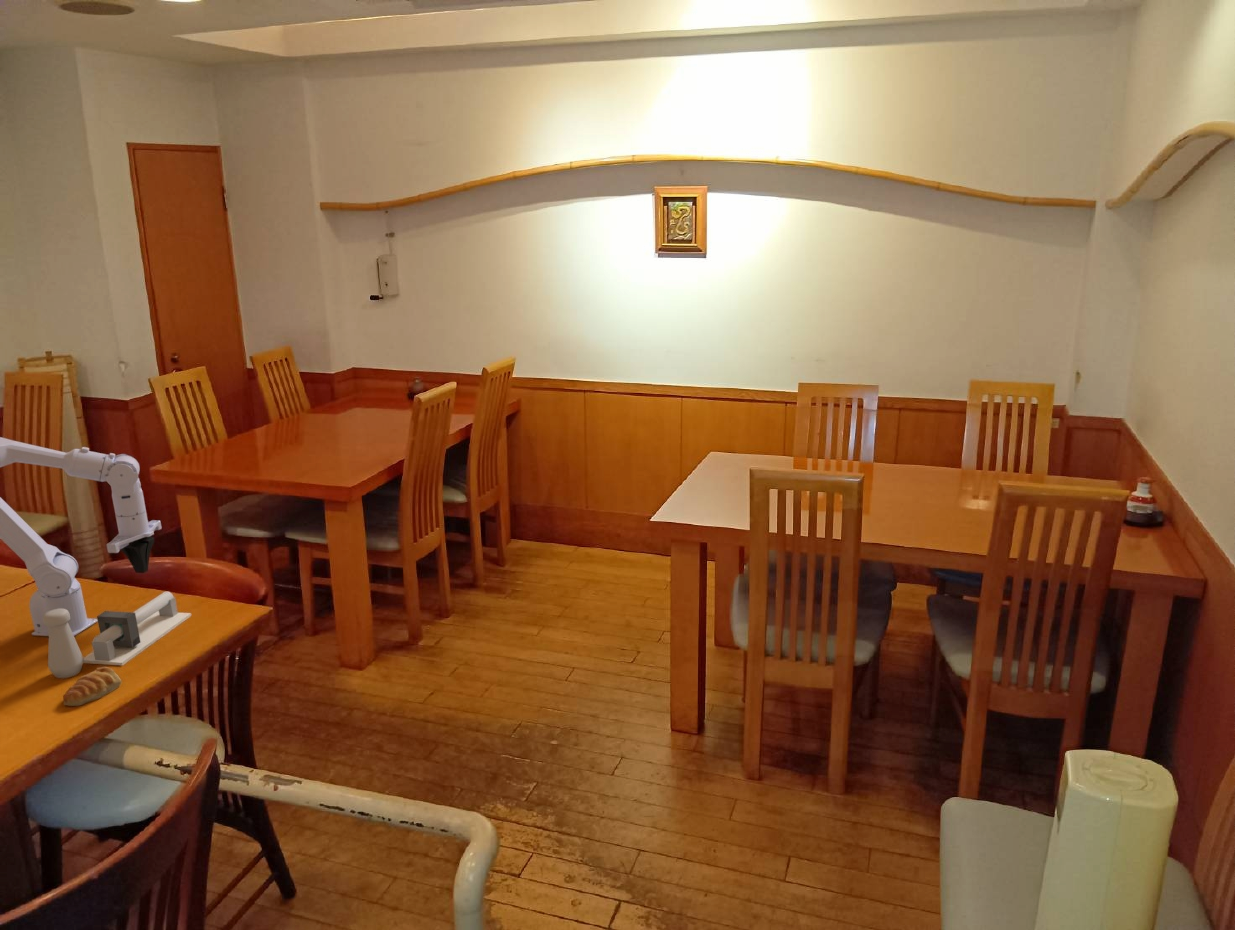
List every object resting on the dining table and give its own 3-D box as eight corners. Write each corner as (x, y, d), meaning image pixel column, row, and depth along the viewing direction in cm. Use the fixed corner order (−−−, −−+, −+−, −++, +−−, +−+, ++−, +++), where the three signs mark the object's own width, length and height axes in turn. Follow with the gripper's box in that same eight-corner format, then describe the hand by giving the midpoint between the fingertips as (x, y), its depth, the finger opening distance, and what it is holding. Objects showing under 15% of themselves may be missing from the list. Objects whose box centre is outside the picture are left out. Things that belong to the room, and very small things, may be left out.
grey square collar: (132, 647, 174) (126, 617, 172) (102, 646, 175) (96, 616, 173) (140, 642, 176) (135, 612, 174) (111, 640, 177) (105, 610, 175)
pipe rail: (122, 665, 170) (117, 638, 168) (81, 662, 171) (75, 635, 169) (191, 615, 190) (187, 590, 189) (154, 613, 192) (149, 588, 190)
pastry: (82, 711, 154) (78, 692, 153) (53, 706, 156) (49, 687, 155) (125, 685, 163) (122, 667, 162) (97, 680, 165) (93, 662, 164)
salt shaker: (68, 682, 164) (55, 619, 160) (43, 679, 165) (29, 617, 161) (92, 667, 169) (80, 606, 166) (67, 664, 170) (54, 603, 167)
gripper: (124, 524, 177) (136, 586, 181) (169, 502, 191) (179, 559, 194) (93, 523, 178) (105, 584, 182) (140, 501, 192) (150, 558, 195)
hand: (141, 571), depth 188 cm, fingers closed
